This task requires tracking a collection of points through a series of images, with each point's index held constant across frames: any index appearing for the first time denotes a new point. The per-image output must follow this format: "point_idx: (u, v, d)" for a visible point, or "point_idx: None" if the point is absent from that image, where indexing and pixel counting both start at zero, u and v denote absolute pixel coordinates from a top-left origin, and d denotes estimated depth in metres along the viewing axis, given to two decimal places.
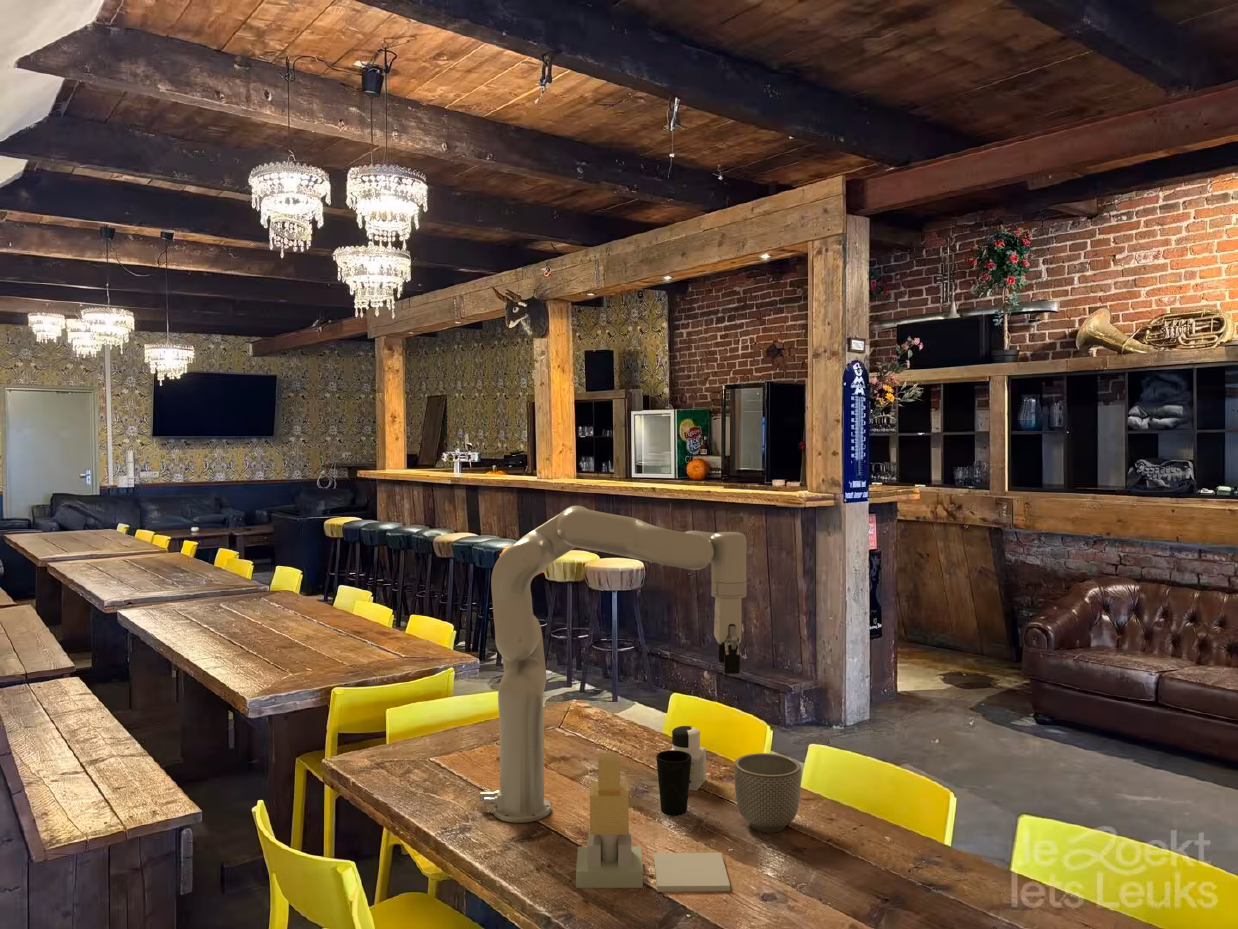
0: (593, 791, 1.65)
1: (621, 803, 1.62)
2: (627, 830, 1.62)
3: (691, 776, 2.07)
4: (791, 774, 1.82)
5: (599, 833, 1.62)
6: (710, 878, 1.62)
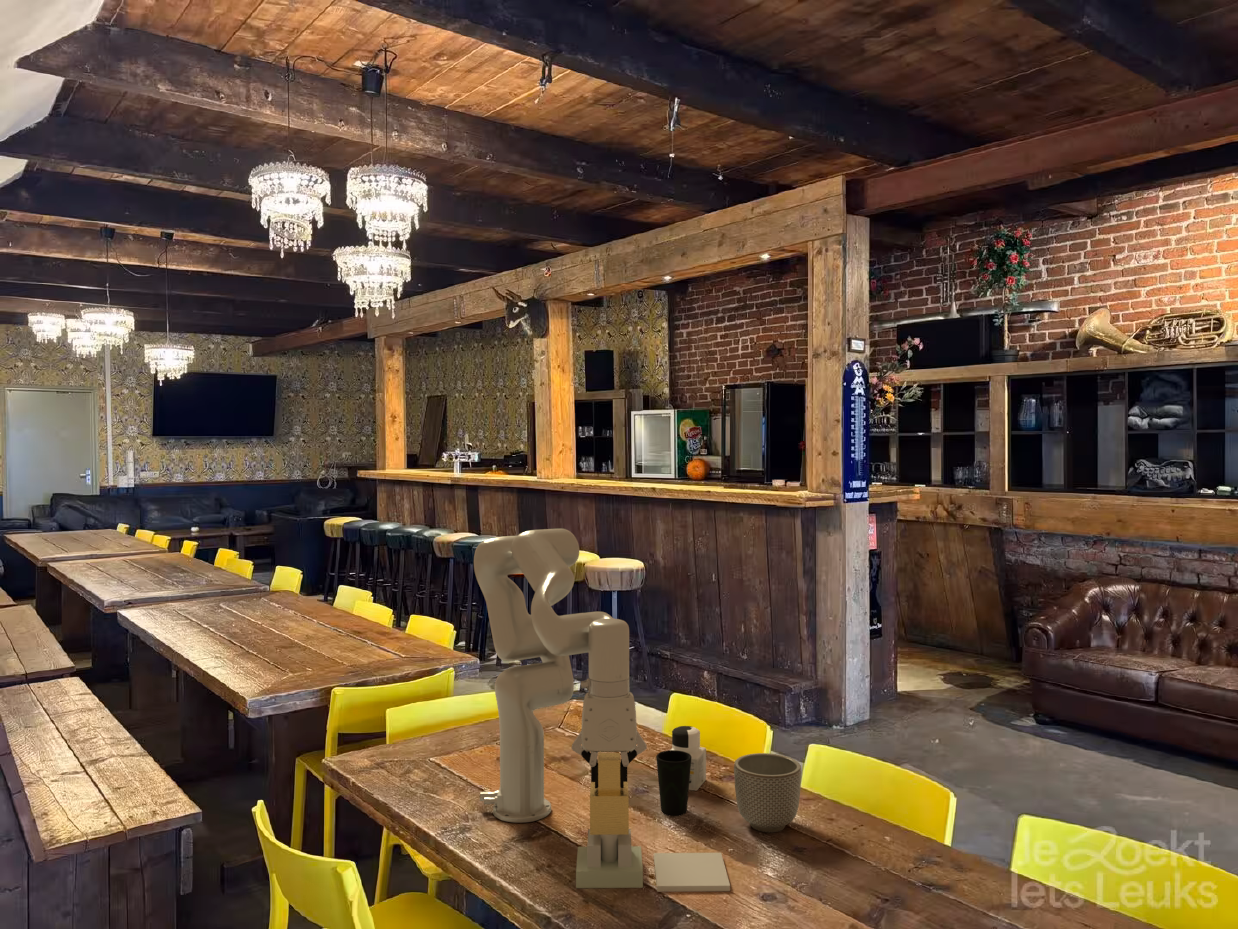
0: (593, 791, 1.65)
1: (621, 803, 1.62)
2: (627, 830, 1.62)
3: (691, 776, 2.07)
4: (791, 774, 1.82)
5: (599, 833, 1.62)
6: (710, 878, 1.62)
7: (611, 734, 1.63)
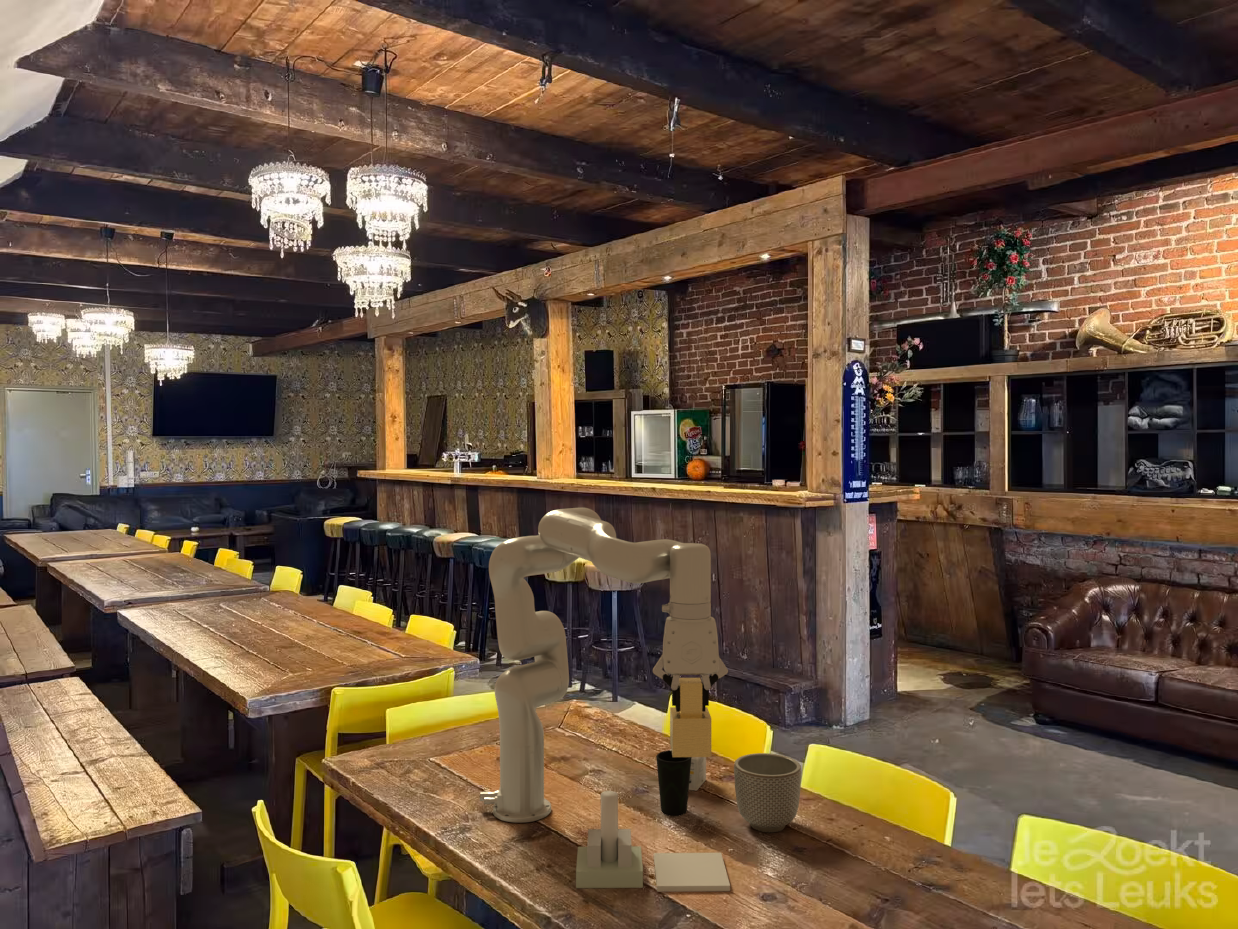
0: (675, 714, 1.65)
1: (704, 725, 1.62)
2: (710, 752, 1.62)
3: (691, 776, 2.07)
4: (791, 774, 1.82)
5: (682, 755, 1.62)
6: (710, 878, 1.62)
7: (693, 657, 1.63)
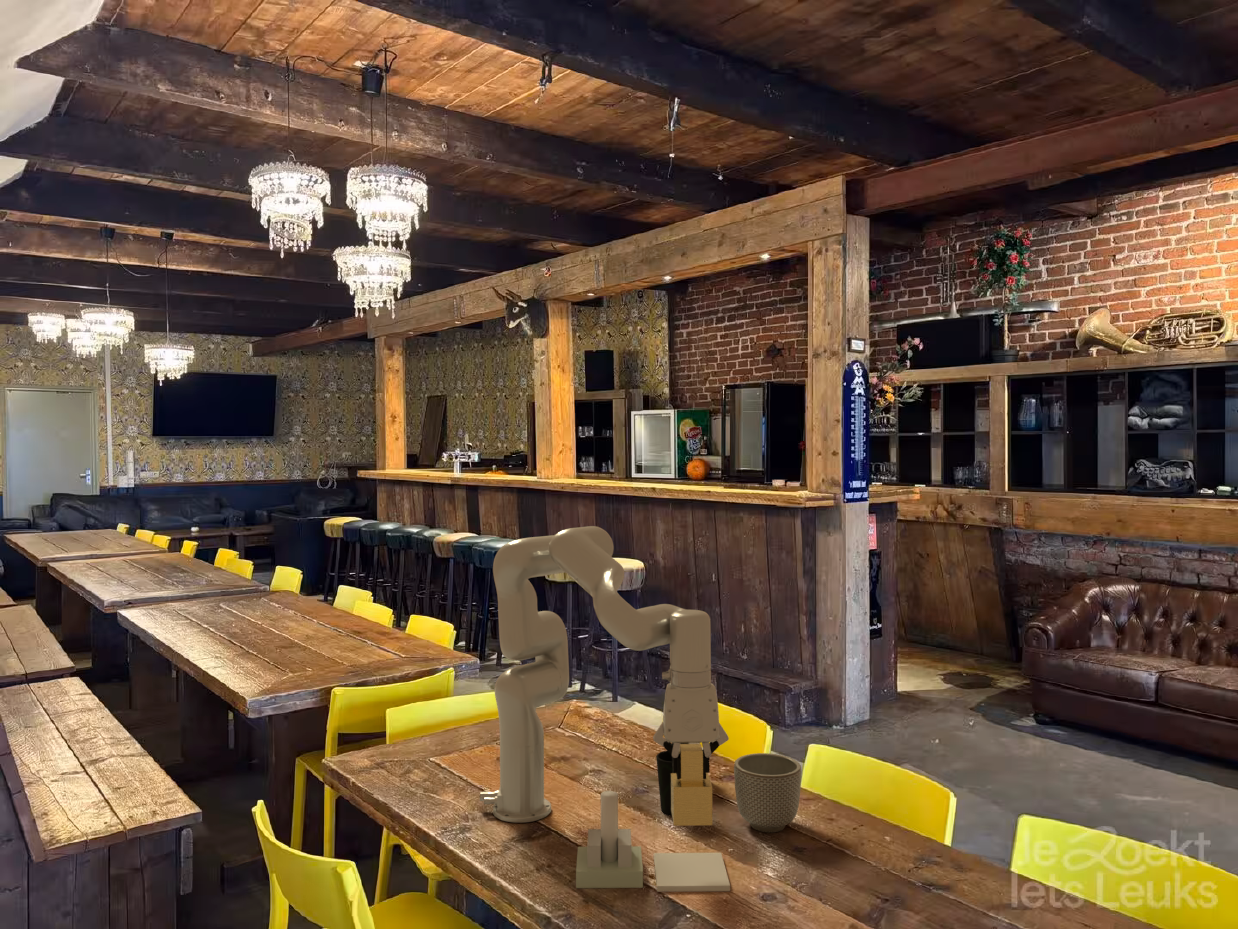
0: (676, 782, 1.65)
1: (705, 794, 1.62)
2: (711, 821, 1.62)
3: None
4: (791, 774, 1.82)
5: (683, 824, 1.62)
6: (710, 878, 1.62)
7: (694, 725, 1.63)
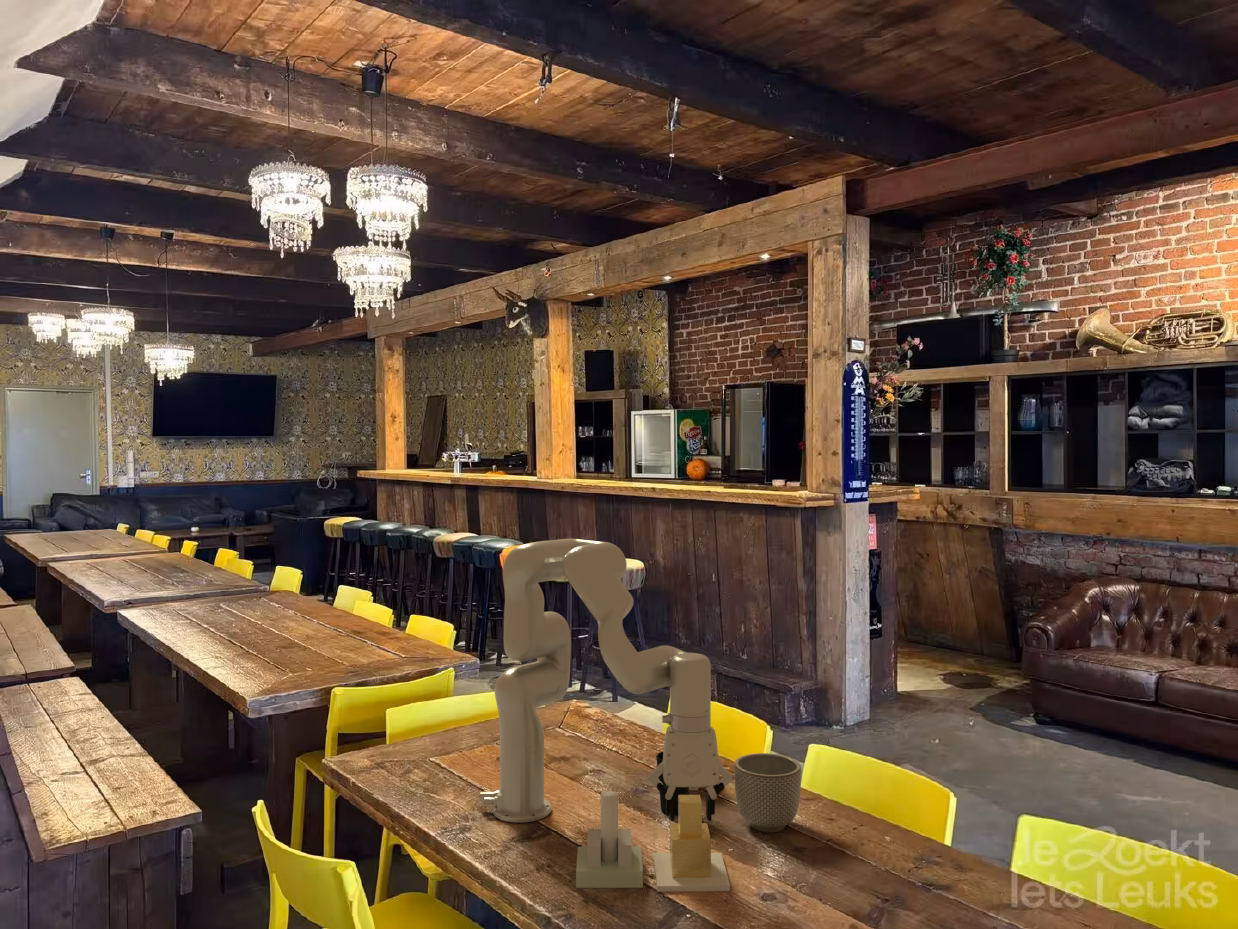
0: (674, 833, 1.65)
1: (703, 846, 1.62)
2: (709, 873, 1.63)
3: None
4: (791, 774, 1.82)
5: (681, 876, 1.63)
6: (710, 878, 1.62)
7: (694, 769, 1.63)
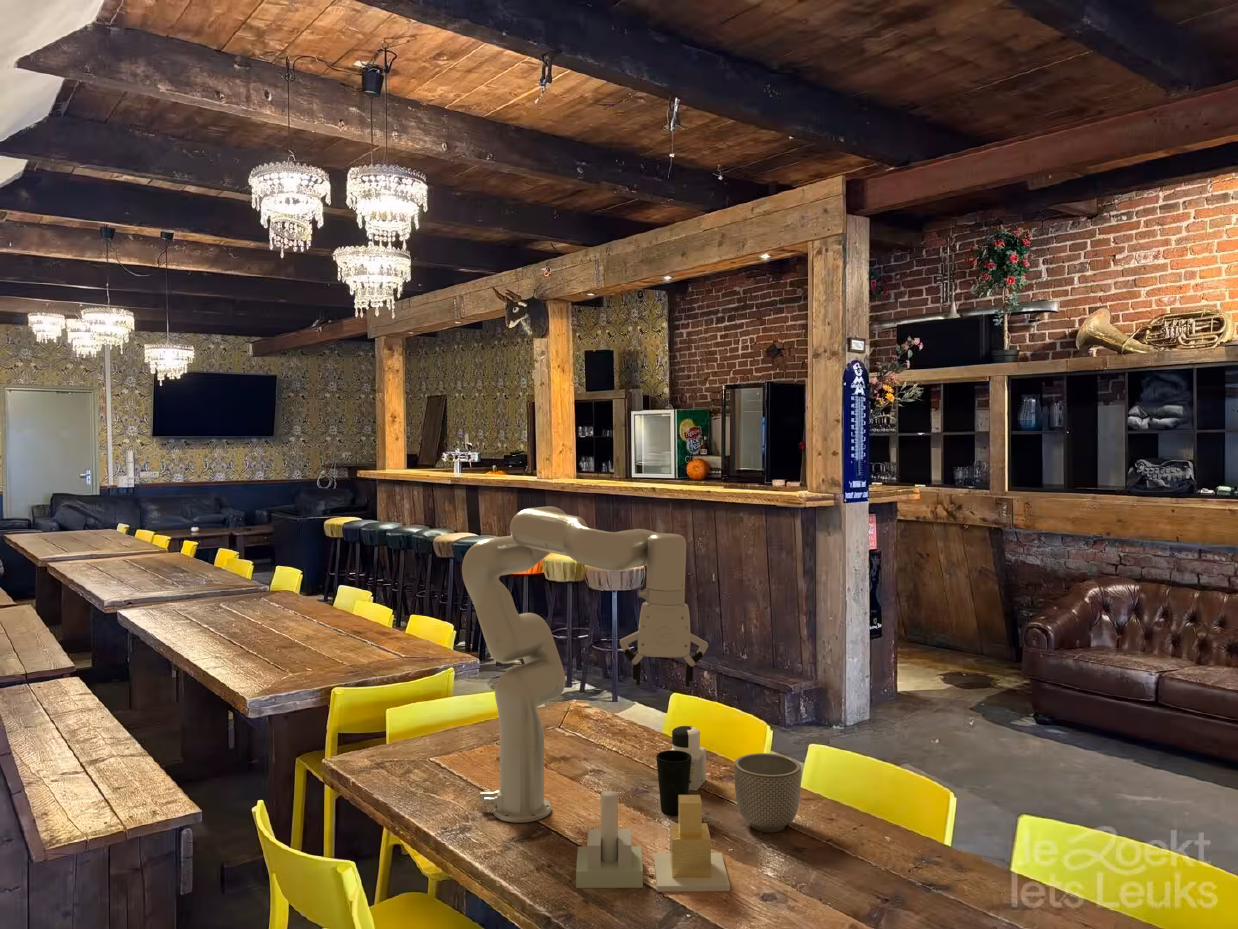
0: (674, 833, 1.65)
1: (703, 846, 1.62)
2: (709, 873, 1.63)
3: (691, 776, 2.07)
4: (791, 774, 1.82)
5: (681, 876, 1.63)
6: (710, 878, 1.62)
7: (666, 640, 1.72)
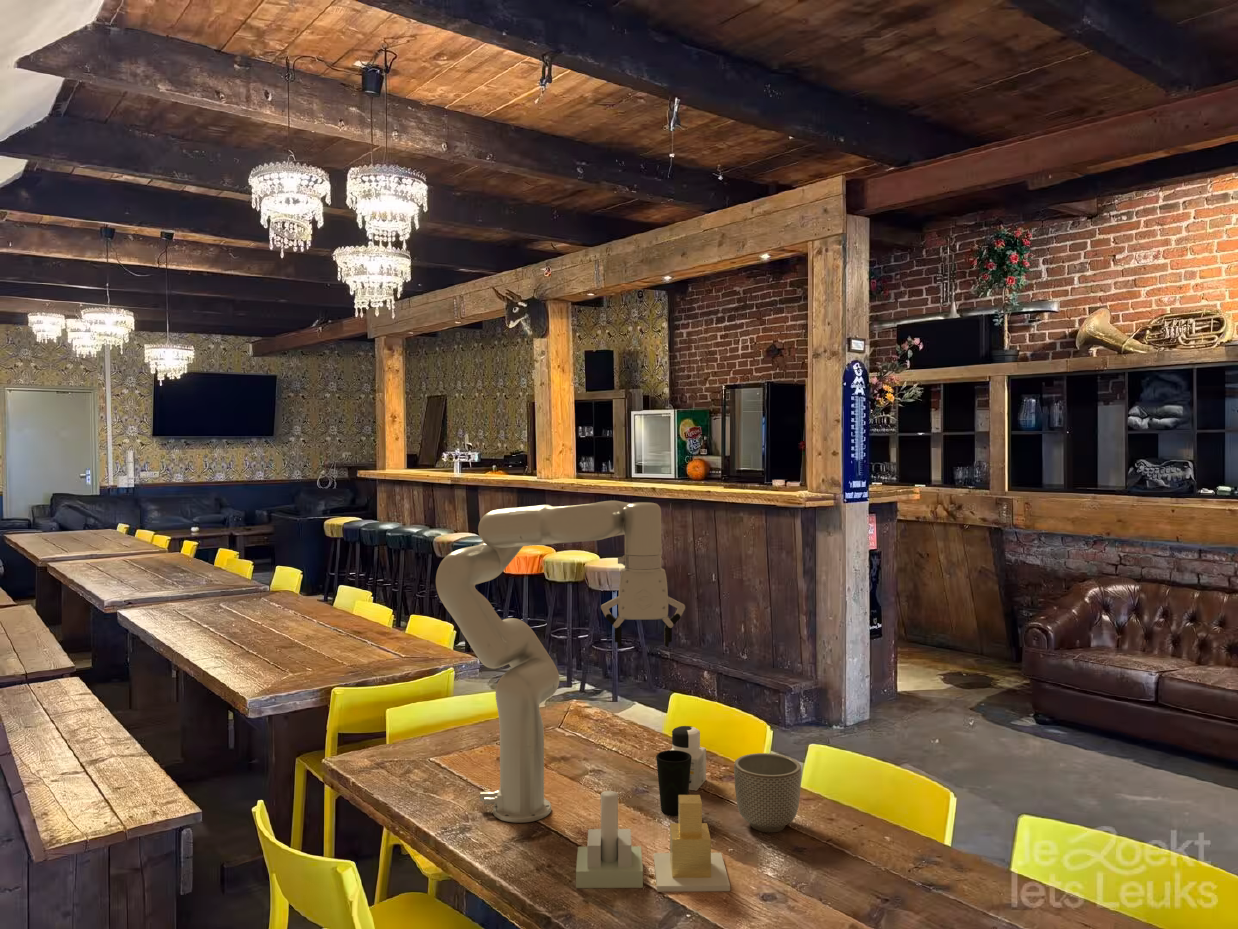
0: (674, 833, 1.65)
1: (703, 846, 1.62)
2: (709, 873, 1.63)
3: (691, 776, 2.07)
4: (791, 774, 1.82)
5: (681, 876, 1.63)
6: (710, 878, 1.62)
7: (645, 603, 1.81)
